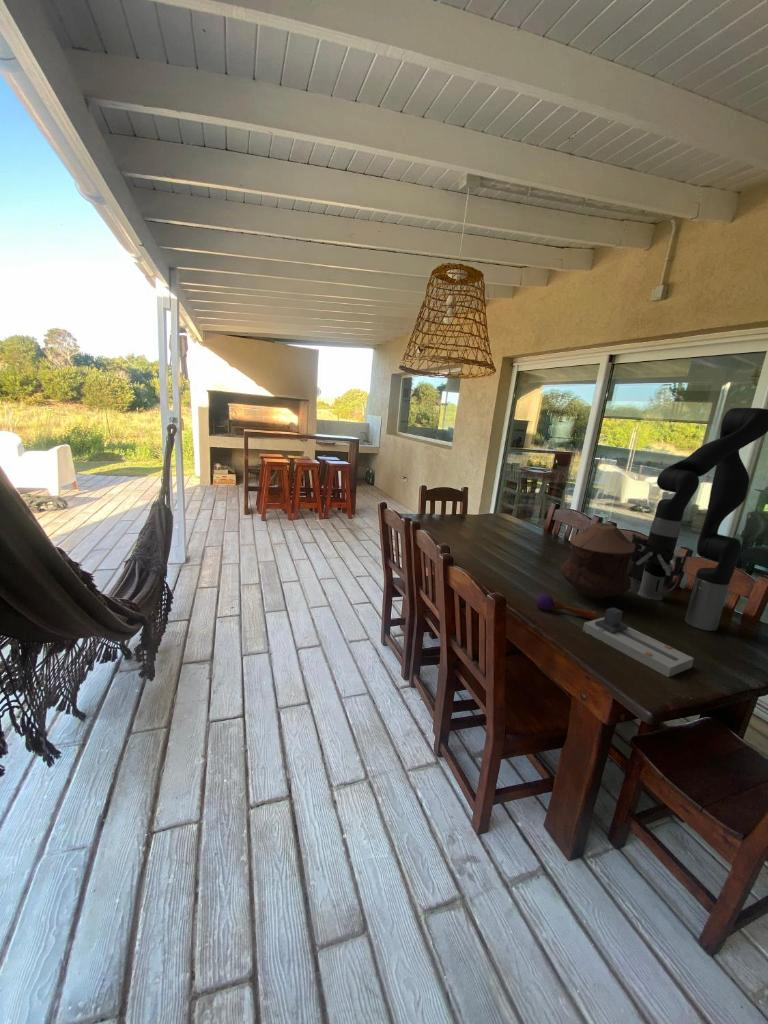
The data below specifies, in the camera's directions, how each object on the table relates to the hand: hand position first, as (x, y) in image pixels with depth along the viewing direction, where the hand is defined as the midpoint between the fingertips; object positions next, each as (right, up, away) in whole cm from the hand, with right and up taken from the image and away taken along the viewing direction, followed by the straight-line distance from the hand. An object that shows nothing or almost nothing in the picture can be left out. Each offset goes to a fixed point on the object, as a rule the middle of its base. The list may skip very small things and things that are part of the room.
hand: (651, 580), depth 131 cm
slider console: (-9, -20, -4) cm, 22 cm away
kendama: (-21, -15, +17) cm, 31 cm away
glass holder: (+25, -13, +35) cm, 45 cm away
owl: (+34, -9, +58) cm, 68 cm away
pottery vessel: (-2, -12, +34) cm, 36 cm away
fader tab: (-12, -15, +2) cm, 20 cm away
